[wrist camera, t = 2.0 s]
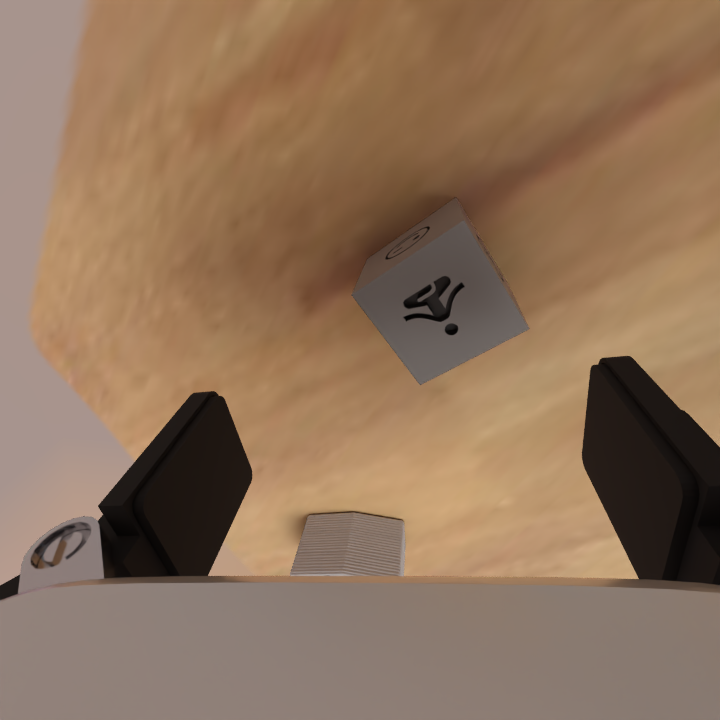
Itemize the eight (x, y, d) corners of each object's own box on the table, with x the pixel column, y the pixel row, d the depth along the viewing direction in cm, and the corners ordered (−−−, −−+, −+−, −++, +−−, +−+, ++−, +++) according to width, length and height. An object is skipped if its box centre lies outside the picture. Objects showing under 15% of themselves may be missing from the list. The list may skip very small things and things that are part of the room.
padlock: (403, 512, 30) (393, 674, 21) (405, 550, 32) (396, 711, 23) (306, 507, 31) (259, 657, 22) (314, 543, 33) (273, 694, 24)
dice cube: (456, 196, 19) (463, 220, 15) (508, 284, 21) (529, 328, 16) (367, 258, 21) (351, 294, 17) (421, 334, 23) (419, 385, 18)
